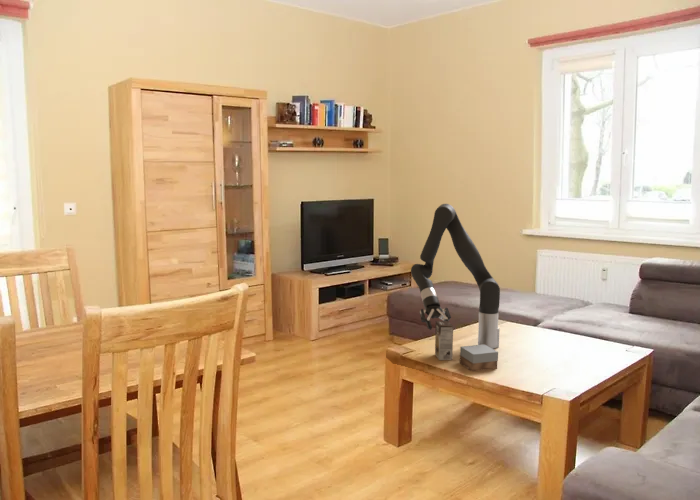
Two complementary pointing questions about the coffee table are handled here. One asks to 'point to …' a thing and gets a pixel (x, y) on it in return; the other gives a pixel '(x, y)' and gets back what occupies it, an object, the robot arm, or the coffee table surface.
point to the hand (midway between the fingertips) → (439, 328)
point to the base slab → (478, 365)
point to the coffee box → (444, 340)
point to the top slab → (479, 353)
